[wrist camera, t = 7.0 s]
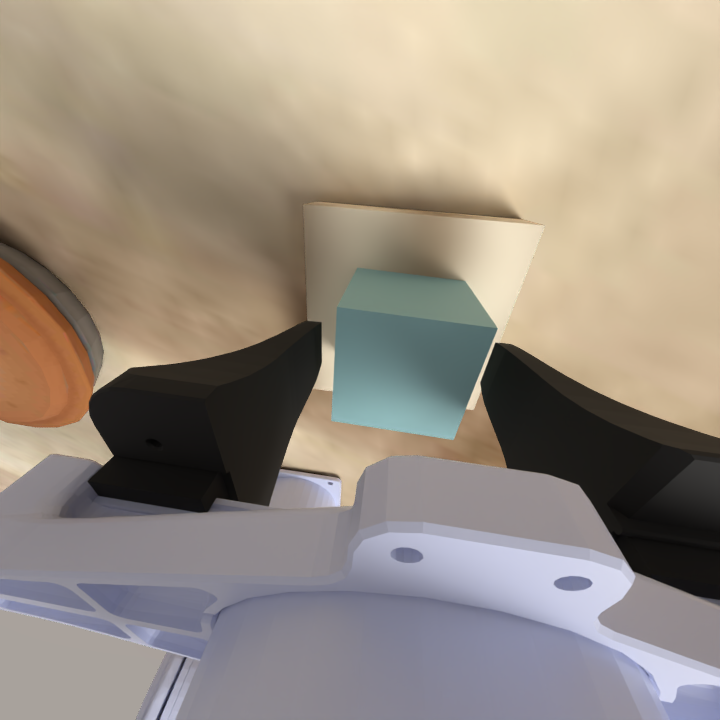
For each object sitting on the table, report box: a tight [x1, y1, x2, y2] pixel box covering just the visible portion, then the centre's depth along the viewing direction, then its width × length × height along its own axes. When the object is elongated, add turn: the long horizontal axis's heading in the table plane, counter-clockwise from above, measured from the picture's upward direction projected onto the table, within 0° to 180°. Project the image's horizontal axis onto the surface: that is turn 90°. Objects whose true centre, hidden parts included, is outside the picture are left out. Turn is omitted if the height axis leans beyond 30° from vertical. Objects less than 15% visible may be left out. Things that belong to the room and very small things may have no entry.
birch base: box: [303, 202, 545, 410], centre depth 15 cm, size 10×10×2 cm
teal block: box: [331, 268, 498, 440], centre depth 12 cm, size 5×5×5 cm
